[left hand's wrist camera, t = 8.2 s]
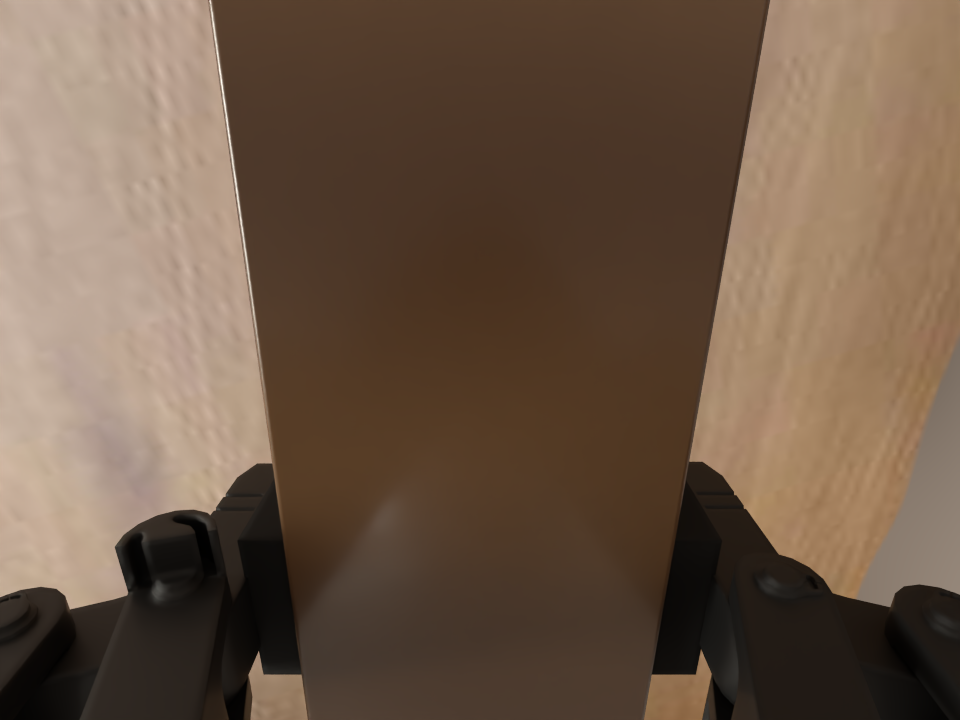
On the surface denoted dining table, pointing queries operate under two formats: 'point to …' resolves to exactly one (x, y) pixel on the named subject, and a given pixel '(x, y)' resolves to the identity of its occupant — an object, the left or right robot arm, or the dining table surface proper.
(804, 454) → the dining table surface
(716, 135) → the post
